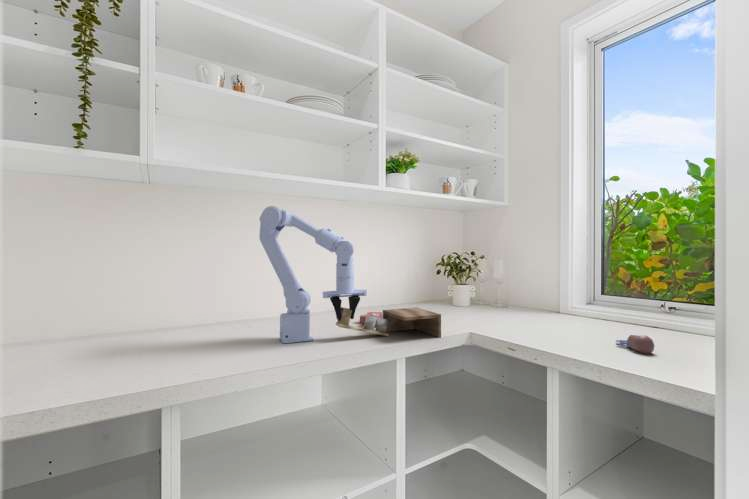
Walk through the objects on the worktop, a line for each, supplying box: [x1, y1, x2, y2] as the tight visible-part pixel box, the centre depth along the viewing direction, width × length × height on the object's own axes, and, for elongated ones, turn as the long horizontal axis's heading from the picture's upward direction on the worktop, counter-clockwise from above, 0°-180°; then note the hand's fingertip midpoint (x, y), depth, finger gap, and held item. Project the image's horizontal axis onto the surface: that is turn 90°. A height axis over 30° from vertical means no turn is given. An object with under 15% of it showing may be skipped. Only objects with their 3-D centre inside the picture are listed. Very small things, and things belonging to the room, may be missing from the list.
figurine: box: [615, 334, 655, 355], centre depth 99 cm, size 5×5×12 cm
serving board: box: [335, 306, 389, 337], centre depth 114 cm, size 18×5×6 cm, turn 113°
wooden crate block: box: [382, 307, 442, 339], centre depth 117 cm, size 14×16×8 cm
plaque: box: [359, 311, 383, 329], centre depth 137 cm, size 18×4×15 cm
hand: (345, 319), depth 111 cm, fingers closed on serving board, 4 cm apart
